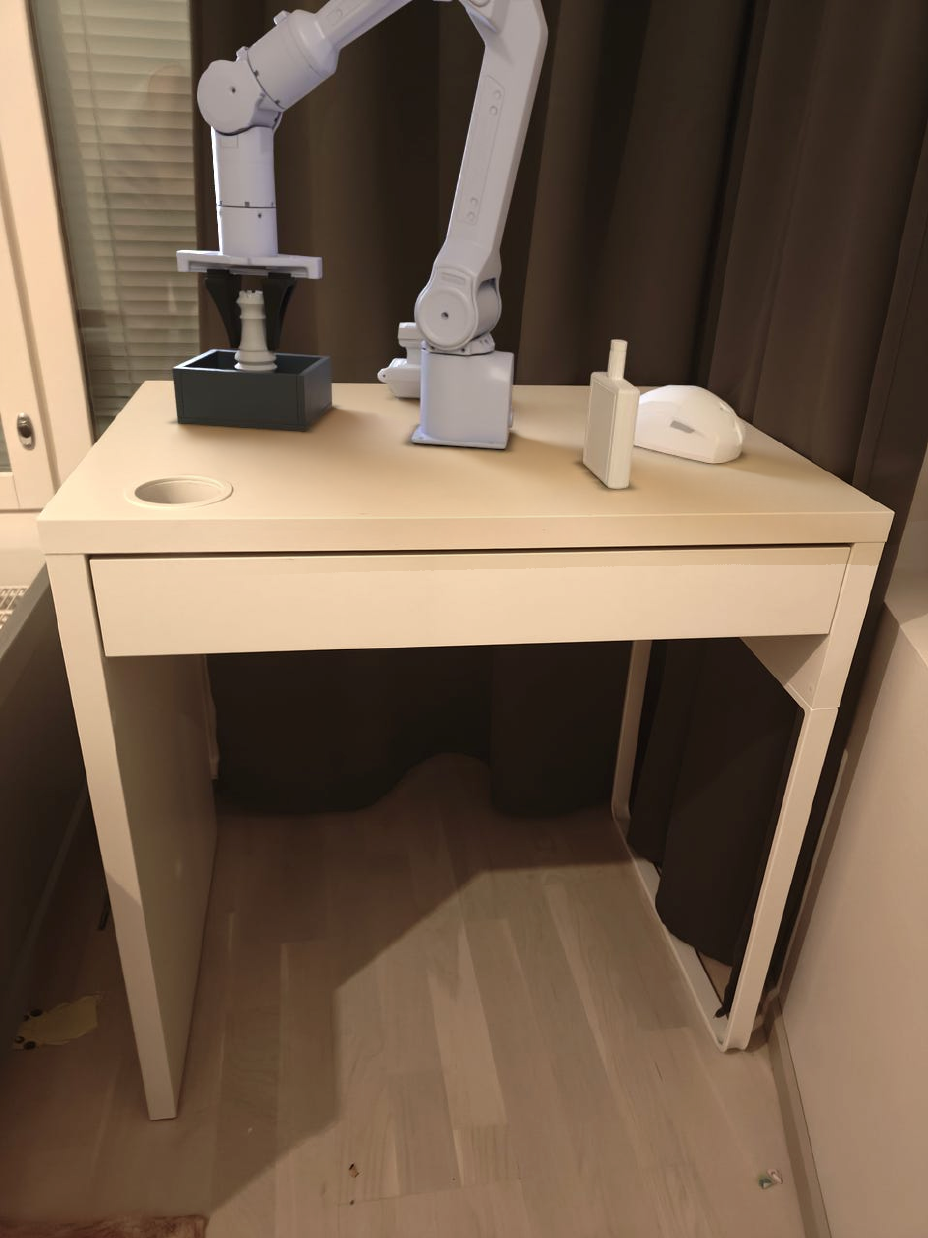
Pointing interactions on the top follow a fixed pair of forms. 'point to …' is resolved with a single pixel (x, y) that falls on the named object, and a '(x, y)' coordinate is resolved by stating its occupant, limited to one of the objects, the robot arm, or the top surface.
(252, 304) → the rook chess piece
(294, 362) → the storage bin
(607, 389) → the perfume bottle
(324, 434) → the top surface
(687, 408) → the computer mouse
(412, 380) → the white mechanical part
